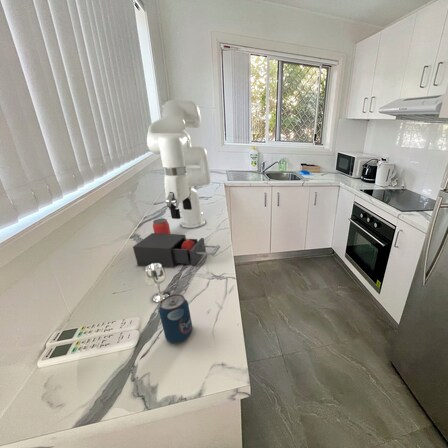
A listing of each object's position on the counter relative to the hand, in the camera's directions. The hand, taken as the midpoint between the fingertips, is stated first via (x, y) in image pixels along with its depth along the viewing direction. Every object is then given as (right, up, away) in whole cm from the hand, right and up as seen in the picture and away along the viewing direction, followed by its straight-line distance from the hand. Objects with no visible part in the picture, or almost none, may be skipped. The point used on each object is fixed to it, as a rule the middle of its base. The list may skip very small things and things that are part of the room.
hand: (182, 213), depth 97 cm
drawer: (+2, -19, +7) cm, 20 cm away
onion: (0, -18, +7) cm, 19 cm away
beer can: (-18, -14, +20) cm, 30 cm away
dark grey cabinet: (-11, -19, +7) cm, 23 cm away
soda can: (+13, -36, -29) cm, 48 cm away
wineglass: (0, -29, -15) cm, 33 cm away
